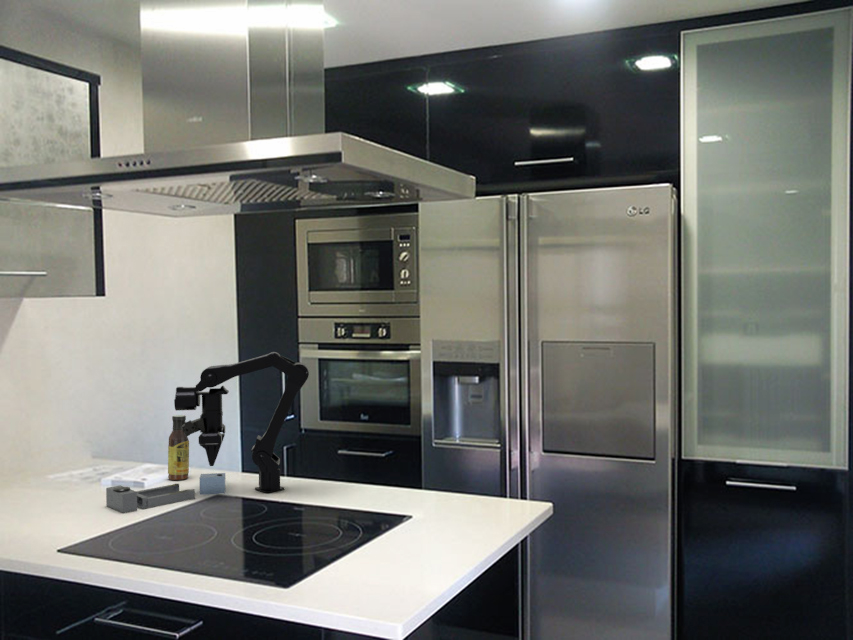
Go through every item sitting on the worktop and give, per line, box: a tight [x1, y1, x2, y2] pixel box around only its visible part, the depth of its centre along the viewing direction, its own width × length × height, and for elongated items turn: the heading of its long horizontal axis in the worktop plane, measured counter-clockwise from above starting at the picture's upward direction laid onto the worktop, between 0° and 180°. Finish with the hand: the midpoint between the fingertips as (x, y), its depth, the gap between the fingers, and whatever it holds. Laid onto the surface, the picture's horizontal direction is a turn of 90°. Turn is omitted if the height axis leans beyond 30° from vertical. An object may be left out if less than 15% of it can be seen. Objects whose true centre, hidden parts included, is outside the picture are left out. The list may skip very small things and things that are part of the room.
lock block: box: [199, 472, 226, 495], centre depth 232 cm, size 5×7×5 cm
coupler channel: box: [105, 483, 196, 514], centre depth 220 cm, size 11×21×5 cm, turn 136°
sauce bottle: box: [167, 414, 190, 481], centre depth 248 cm, size 6×6×20 cm
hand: (212, 462), depth 232 cm, fingers open, 9 cm apart
